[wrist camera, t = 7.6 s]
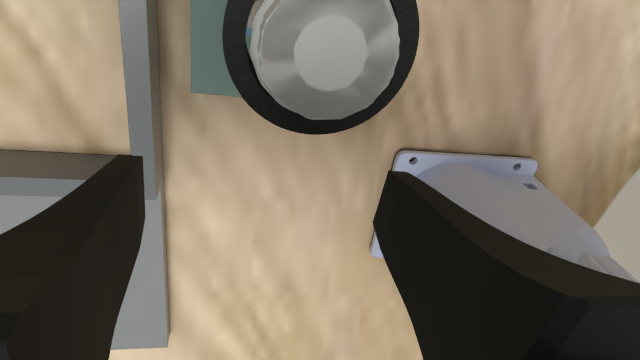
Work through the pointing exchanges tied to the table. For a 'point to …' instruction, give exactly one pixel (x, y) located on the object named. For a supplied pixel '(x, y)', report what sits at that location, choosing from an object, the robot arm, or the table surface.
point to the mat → (210, 49)
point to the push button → (319, 58)
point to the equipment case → (74, 169)
